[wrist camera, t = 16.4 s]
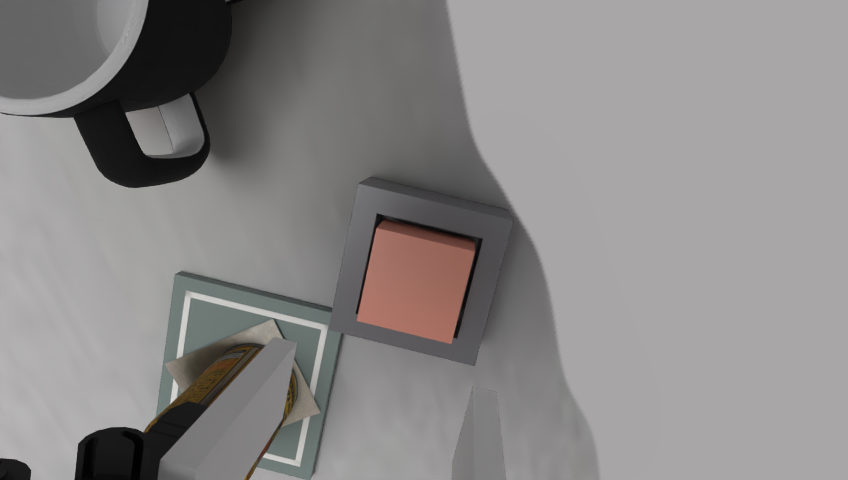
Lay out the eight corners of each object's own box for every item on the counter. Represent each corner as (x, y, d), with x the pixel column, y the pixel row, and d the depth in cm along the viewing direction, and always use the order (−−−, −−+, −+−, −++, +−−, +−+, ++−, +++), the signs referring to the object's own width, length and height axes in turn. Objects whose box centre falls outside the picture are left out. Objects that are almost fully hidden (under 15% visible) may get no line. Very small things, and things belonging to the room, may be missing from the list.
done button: (384, 218, 32) (376, 227, 29) (474, 240, 32) (474, 251, 29) (366, 303, 33) (356, 320, 30) (452, 324, 33) (451, 344, 30)
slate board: (181, 271, 37) (174, 274, 36) (346, 312, 37) (344, 316, 36) (158, 434, 40) (152, 440, 39) (313, 473, 40) (309, 481, 39)
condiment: (321, 411, 38) (255, 540, 26) (215, 451, 39) (106, 591, 27) (274, 317, 36) (182, 407, 25) (166, 361, 38) (31, 467, 26)
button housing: (370, 177, 35) (358, 183, 31) (508, 210, 35) (513, 220, 31) (343, 308, 37) (328, 329, 33) (474, 340, 37) (474, 366, 33)
